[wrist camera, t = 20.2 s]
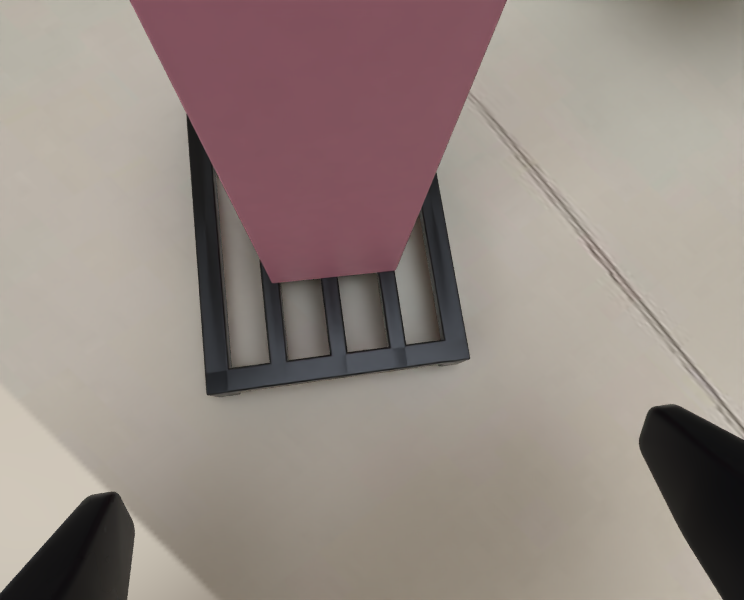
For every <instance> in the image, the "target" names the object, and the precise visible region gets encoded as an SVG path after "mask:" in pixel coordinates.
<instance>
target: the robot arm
mask: <svg viewBox="0 0 744 600" xmlns="http://www.w3.org/2000/svg"><path fill="white" fill-rule="evenodd" d="M639 447H640V450H641V453H642V455H643V457H644V459H645V461H646V463H647V465H648V467H649V469H650V471H651V473H652V475H653V477H654V479H655V481H656V483H657V485H658V487H659V489H660V491H661V493H662V495H663V497H664V499H665V501H666V503H667V505H668V507H669V509H670V511H671V513H672V515H673V517H674V519H675V521H676V523H677V525H678V527H679V529H680V531H681V532H682V534H683V536H684V538H685V539H686V541H687V543H688V544H689V546H690V548H691V549H692V551H693V553H694V554H695V556H696V557H697V559H698V561H699V562H700V564H701V565H702V567H703V569H704V570H705V572H706V573H707V575H708V577H709V578H710V580H711V581H712V583H713V585H714V586H715V588H716V589H717V591H718V593H719V594H720V596H721V597H722V599H723V600H744V440H743V439H741V438H739V437H737V436H735V435H733V434H731V433H729V432H728V431H726V430H724V429H722V428H720V427H718V426H716V425H714V424H712V423H711V422H709V421H707V420H705V419H703V418H701V417H699V416H697V415H695V414H694V413H692V412H690V411H688V410H686V409H684V408H682V407H680V406H678V405H675V404H668V405H662V406H655V407H652V408H651V409H650V410H649V411H648V413H647V416H646V419H645V422H644V425H643V428H642V431H641V434H640V437H639ZM134 536H135V530H134V524H133V521H132V519H131V517H130V515H129V513H128V511H127V509H126V507H125V505H124V503H123V501H122V499H121V497H120V496H119V494H118V493H116V492H106V493H100V494H94V495H90V496H89V497H87V498H86V499H84V500H83V501H82V502H81V504H80V505H79V506H78V507H77V508H76V509H75V510H74V512H73V513H72V514H71V515H70V516H69V517H68V518H67V519H66V520H65V521H64V523H63V524H62V525H61V526H60V527H59V528H58V529H57V530H56V532H55V533H54V534H53V535H52V536H51V537H50V538H49V539H48V540H47V542H46V543H45V544H44V545H43V546H42V547H41V548H40V549H39V551H38V552H37V553H36V554H35V555H34V556H33V557H32V558H31V560H30V561H29V562H28V563H27V564H26V565H25V566H24V567H23V568H22V570H21V571H20V572H19V573H18V574H17V575H16V576H15V577H14V578H13V580H12V581H11V582H10V583H9V584H8V585H7V586H6V588H5V589H4V590H3V591H2V592H1V593H0V600H127V596H128V587H129V579H130V570H131V562H132V554H133V546H134Z"/></svg>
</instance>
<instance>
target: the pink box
mask: <svg viewBox="0 0 744 600" xmlns="http://www.w3.org/2000/svg"><path fill="white" fill-rule="evenodd" d="M506 1H507V0H130V2H131V4H132V6H133V8H134V10H135V12H136V14H137V16H138V18H139V20H140V22H141V24H142V26H143V28H144V30H145V32H146V34H147V36H148V38H149V40H150V42H151V44H152V46H153V48H154V50H155V52H156V54H157V55H158V57H159V59H160V61H161V63H162V65H163V67H164V69H165V71H166V73H167V75H168V77H169V79H170V81H171V83H172V85H173V87H174V89H175V91H176V93H177V95H178V97H179V99H180V101H181V103H182V105H183V107H184V109H185V111H186V113H187V115H188V117H189V119H190V121H191V123H192V125H193V127H194V129H195V131H196V133H197V135H198V137H199V139H200V141H201V143H202V145H203V147H204V149H205V151H206V153H207V155H208V157H209V159H210V161H211V163H212V165H213V167H214V169H215V171H216V173H217V175H218V177H219V179H220V181H221V183H222V185H223V187H224V189H225V191H226V193H227V195H228V197H229V199H230V201H231V203H232V205H233V206H234V208H235V210H236V212H237V214H238V216H239V218H240V220H241V222H242V224H243V226H244V228H245V230H246V232H247V234H248V236H249V238H250V240H251V242H252V244H253V246H254V248H255V250H256V252H257V254H258V256H259V258H260V260H261V262H262V264H263V266H264V268H265V270H266V272H267V274H268V276H269V278H270V280H271V282H272V283H281V282H291V281H300V280H310V279H319V278H329V277H338V276H348V275H357V274H367V273H376V272H386V271H395V270H396V268H397V266H398V263H399V261H400V258H401V256H402V254H403V251H404V249H405V246H406V244H407V241H408V239H409V237H410V234H411V232H412V229H413V227H414V224H415V222H416V220H417V217H418V215H419V212H420V210H421V207H422V205H423V203H424V200H425V198H426V195H427V193H428V191H429V188H430V186H431V183H432V181H433V178H434V176H435V174H436V171H437V169H438V166H439V164H440V161H441V159H442V157H443V154H444V152H445V149H446V147H447V144H448V142H449V140H450V137H451V135H452V132H453V130H454V127H455V125H456V123H457V120H458V118H459V115H460V113H461V110H462V108H463V106H464V103H465V101H466V98H467V96H468V93H469V91H470V89H471V86H472V84H473V81H474V79H475V76H476V74H477V72H478V69H479V67H480V64H481V62H482V59H483V57H484V55H485V52H486V50H487V47H488V45H489V42H490V40H491V38H492V35H493V33H494V30H495V28H496V25H497V23H498V21H499V18H500V16H501V13H502V11H503V8H504V6H505V4H506Z"/></svg>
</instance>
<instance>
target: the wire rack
mask: <svg viewBox="0 0 744 600" xmlns="http://www.w3.org/2000/svg"><path fill="white" fill-rule="evenodd" d="M186 115H187V113H186ZM187 129H188V143H189V157H190V170H191V184H192V198H193V212H194V226H195V240H196V254H197V268H198V282H199V296H200V310H201V323H202V337H203V351H204V365H205V379H206V393H207V395H210V396H217V397H223V396H230V395H238V394H240V392H244V391H251V390H258V389H265V388H272V387H280V386H287V385H294V384H301V383H309V382H316V381H323V380H330V379H337V378H345V377H352V376H359V375H366V374H374V373H381V372H388V371H395V370H402V369H410V368H417V367H424V366H431V365H438V366H446V365H454V364H459V363H461V362H464V361H466V360H469V359H470V354H469V349H468V343H467V338H466V332H465V327H464V321H463V316H462V310H461V305H460V299H459V294H458V289H457V283H456V278H455V272H454V267H453V261H452V256H451V250H450V245H449V239H448V234H447V228H446V223H445V217H444V212H443V206H442V201H441V195H440V190H439V184H438V179H437V173H436V174H435V176H434V178H433V181H432V183H431V186H430V188H429V191H428V193H427V195H426V198H425V200H424V203H423V205H422V207H421V210H420V212H419V215H420V220H421V226H422V232H423V238H424V244H425V250H426V255H427V261H428V267H429V273H430V279H431V285H432V290H433V296H434V302H435V308H436V314H437V320H438V325H439V331H440V337H441V340H437V341H430V342H422V343H415V344H407V345H406V341H405V334H404V328H403V322H402V315H401V309H400V303H399V296H398V290H397V283H396V277H395V271H386V272H377V279H378V286H379V293H380V299H381V306H382V313H383V320H384V326H385V333H386V340H387V346H388V347H385V348H377V349H370V350H363V351H355V352H347V345H346V337H345V330H344V322H343V314H342V307H341V299H340V292H339V284H338V277H329V278H321V285H322V294H323V302H324V310H325V318H326V326H327V334H328V342H329V350H330V355H325V356H318V357H310V358H303V359H295V360H289V359H288V349H287V340H286V331H285V321H284V312H283V302H282V293H281V284H280V283H272V282H271V280H270V278H269V276H268V274H267V272H266V270H265V268H264V266H263V264H262V262H261V260H260V269H261V279H262V289H263V299H264V309H265V319H266V330H267V340H268V350H269V360H270V363H265V364H258V365H250V366H243V367H235V368H232V363H231V350H230V338H229V326H228V314H227V302H226V290H225V278H224V266H223V254H222V242H221V230H220V218H219V206H218V194H217V182H216V171H215V169H214V167H213V165H212V163H211V161H210V159H209V157H208V155H207V153H206V151H205V149H204V147H203V145H202V143H201V141H200V139H199V137H198V135H197V133H196V131H195V129H194V127H193V125H192V123H191V121H190V119H189V117H188V115H187ZM259 259H260V258H259Z"/></svg>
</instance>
